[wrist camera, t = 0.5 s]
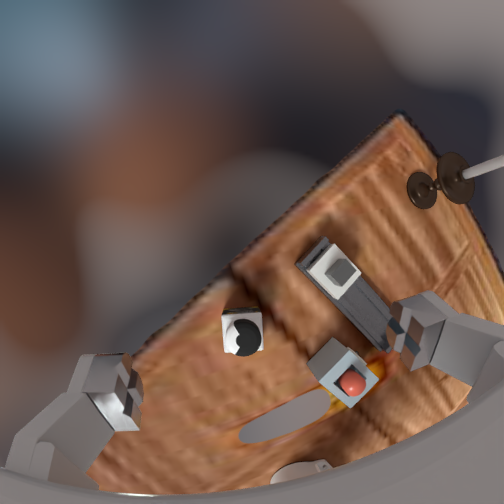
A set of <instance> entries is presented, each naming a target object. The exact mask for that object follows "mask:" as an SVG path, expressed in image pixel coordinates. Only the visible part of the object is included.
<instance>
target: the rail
mask: <svg viewBox="0 0 504 504" xmlns="http://www.w3.org/2000/svg"><path fill="white" fill-rule="evenodd" d="M328 241H329V240H328V239H327V237H326V236H325V237H323V236H321V237H320V238H319V239H318V240H317V241H316V242H315V243H314V244H313V245H312V246H311V247H310V248H309V249H308V250H307V252H306V253H305V254H304V255H303V256H302V257H301V258H300V259H299V260H298V261H297V262H296V263H295V264H294V265H295V266H296V267H297V268H298V269H299V270H300V271H301V272H302V273H303V274H304V275H305V276H306V277H307V278H308V279H309V280H310V281H311V282H312V283H313V284H314V285H315V286H316V287H317V288H318V289H319V290H320V291H321V292H322V293H323V294H324V295H325V296H326V297H327V298H328V299H329V300H330V301H331V302H332V303H333V304H334V305H335V306H336V307H337V308H338V309H339V310H340V311H341V312H342V313H343V314H344V315H345V316H346V317H347V318H348V320H349V321H350V322H351V323H352V324H353V325H354V326H355V327H356V328H357V329H358V330H359V331H360V332H361V333H362V334H363V335H364V336H365V337H366V338H367V339H368V340H369V341H370V342H371V343H372V344H373V345H374V347H375V348H376V349H377V350H379V351H380V352H381V351H382V350H383V351H385V352H386V353H389V352H390V351H391V350H392V348H391V346H390V345H389V343H388V340H387V335H386V328H387V323H388V322H389V321H390V319H391V318H392V316H391V314H390V313H389V312H390V309H389V307H388V306H387V305H386V304H385V303H384V302H383V301H382V299H381V298H380V297H379V296H378V295H377V294H376V293H375V292H374V290H373V289H372V288H371V287H370V286H369V285H368V284H367V283H366V282H365V280H364V279H363V278H362V277H361V276H359V277H358V278H357V279H356V280H355V281H354V282H353V284H352V285H351V286H350V287H349V288H348V289H347V290H346V291H345V293H344V294H343V295H342V296H341V297H340V298H339V299H338V300H337V299H335V298H333V297H332V296H331V295H330V294H329V293H328V292H327V291H326V290H325V289H324V288H323V287H322V286H321V285H320V284H319V283H318V282H317V281H316V280H315V279H314V278H313V277H312V276H311V275H310V274H309V273H308V272H307V271H306V269H307V268H308V267H309V266H310V265H311V264H312V263H313V262H314V261H315V260H316V259H317V258H318V256H319V255H320V254H321V253H322V252H323V251H324V250H325V249H326V248H327V247H328V246H329V245H330V243H329V242H328Z"/></svg>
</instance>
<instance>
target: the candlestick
mask: <svg viewBox="0 0 504 504" xmlns="http://www.w3.org/2000/svg"><path fill="white" fill-rule="evenodd" d="M503 166H504V155H501V156H499V157H496V158H494V159H491V160H488V161H486V162H483V163H481V164H478V165H476V166H473V167H471V168H470V166H469V165H468V163H467V162H466V160H465V159H464V158H463V157H462V156H460V155H459V154H457V153H454V152H448V153H446V154H444V155H442V156H441V157H440V158H439V160H438V163H437V179H435V181H433V180H432V179H431V178H430V177H429V176H428V175H427V174H425V173H423V172H417V173H414V174H412V175H411V176H410V177H409V179H408V182H407V192H408V196H409V198H410V200H411V202H412V203H413V204H414V205H415V206H416V207H418V208H420V209H428V208H431V207H432V206H433V205H434V204H435V202H436V199H437V190H442V191H443V193H444V194H445V196H446V197H447V198H448V199H449V200H450V201H452V202H453V203H455V204H464V203H467V202H469V201H470V200H471V198H472V197H473V194H474V188H475V182H474V176H477V175H480V174H483V173H486V172H488V171H492V170H495V169H497V168H500V167H503Z"/></svg>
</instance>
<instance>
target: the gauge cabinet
mask: <svg viewBox="0 0 504 504" xmlns="http://www.w3.org/2000/svg"><path fill="white" fill-rule="evenodd" d="M358 355H359V354H358V352H357V351H356V352H354V351H353V350H352V349H351V348H349V347H347V348H346V347H345V346H344V345H342V344H341V343H340V342H339V341H337V340H336V339H335V338H333V337H332V338H331V339H330V340H329V341H328V342H327V343H326V344H325V345H324V346H323V347H322V348H321V349H320V350H319V351H318V352H317V353H316V354H315V355H314V356H313V357H312V358H311V359H310V360H309V361H308V362H307V363H306V364H307V366H308V367H309V368H310V370H311V371H312V373H313V374H314V376H315V377H316V379H317V380H318V382H320V383H321V384H322V385H323V386H324V387H325V388H327V389H328V390H329V391H330V392H331V393H332V394H334V395H335V396H336V397H337V398H338V399H340V400H341V401H342V402H343V403H344V404H346V405H347V406H348V407H349V408H350V409H351V408H352V407H353V406H354V405H355V404H356V403H357V402H358V401H359V400H360V399H361V398H362V397H363V396H364V395H365V394H366V393H367V392H368V391H369V390H370V389H371V388H372V387H373V386H374V384H375V383H376V382H377V381H378V380H379V379H378V378H377V377H376V376H375V375H374V374H373V373H372V372H371V371H370V370H369V369H368V368H367V367H366V365H367V364H366V362H365V361H364V360H363V359H362V358H361V357H360V356H358ZM347 369H353V370H355V371H356V372H357V373H358V374H359V375H360V376H361V377H362V378H364V380H365V381H366V388H365V390H364V391H363V392H362V393H361V394H360V395H358V396H354V397H352V396H349V395H348V394H347V393H346V392H345V391H344V389H343V388H342V387H341V386H340V385H339V383H338V378H339V377H340V376H341V375H342V374H343V373H344V372H345V371H346V370H347Z"/></svg>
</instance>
